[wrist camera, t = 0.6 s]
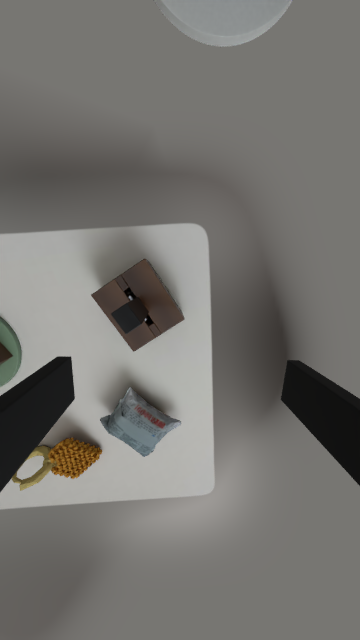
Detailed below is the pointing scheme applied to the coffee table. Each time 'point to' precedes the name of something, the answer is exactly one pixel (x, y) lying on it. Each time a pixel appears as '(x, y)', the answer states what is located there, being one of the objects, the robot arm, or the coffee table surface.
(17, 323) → the coffee table surface
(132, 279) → the knife block
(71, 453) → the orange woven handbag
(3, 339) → the green disc stand
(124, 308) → the knife
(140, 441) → the packaged food
